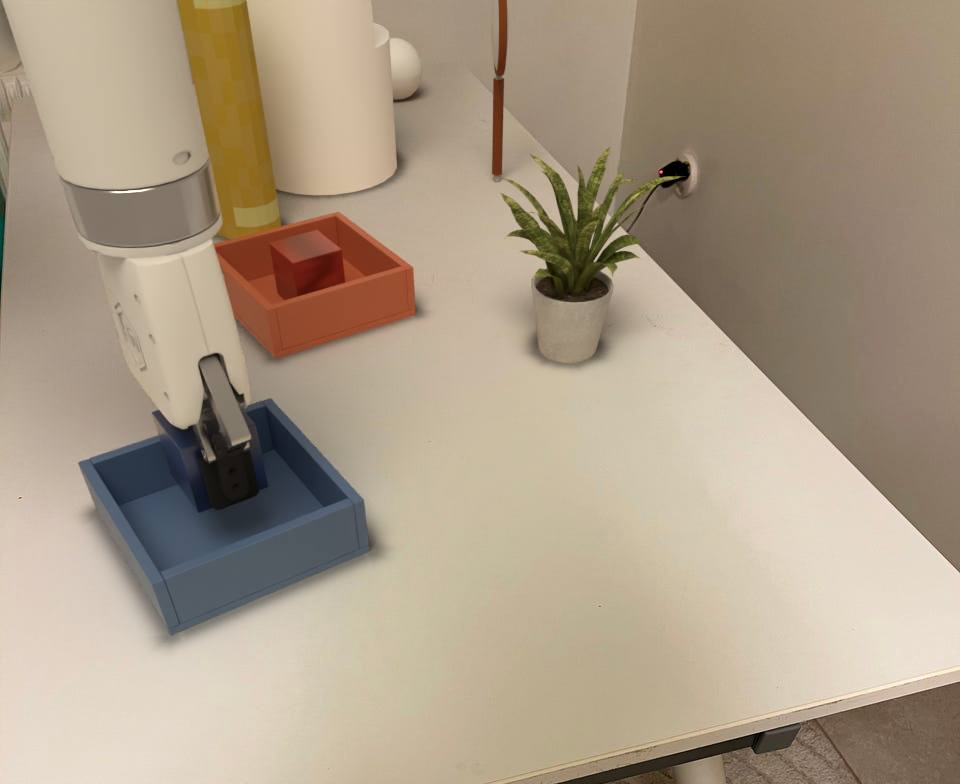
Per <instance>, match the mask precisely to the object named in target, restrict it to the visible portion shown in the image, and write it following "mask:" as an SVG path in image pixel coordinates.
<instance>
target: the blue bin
mask: <svg viewBox="0 0 960 784" xmlns="http://www.w3.org/2000/svg"><path fill="white" fill-rule="evenodd" d="M240 408H241V407H240ZM241 409H242V410H243V411H244V412H245V413H246V414H247V416H248V417H249V418H250V419H251V420H252V421H253V422H254V424H255V426H256V431H257V435H258V440H259V444H260V449H261V454H262V458H263V463H264V467H265V472H266V477H267V481H268V487H267V488H265V489H262V490H259V493H258V495H257V496H255V497H253V498H250V499H247V500H245V501H242V502H239V503H237V504H234V505H231V506H229V507H226V508H224V509H221V510H215V509H214V508H212V509H209V510H206V511H204V512H201V513H198V512H197V510H196V509H195V507H194V506H193V505H192V503H191V502H190V500H189V499H188V498H187V496H186V495H185V493H184V492H183V491H182V489H181V488H180V486H179V485H178V484H177V482H176V481H175V479H174V478H173V477H172V475H171V473H170V470H169V466H168V463H167V460H166V457H165V454H164V450H163V447H162V444H161V441H160V438H159V435H155V436H151V437H149V438H146V439H143V440H140V441H136V442H134V443H131V444H128V445H125V446H122V447H118V448H115V449H113V450H110V451H106V452H104V453H101V454H98V455H95V456H92V457H89V458H87V459H83V460H80V461H78V463H77V465H78V467H79V469H80V472H81V474H82V477H83V479H84V482H85V484H86V487H87V489H88V492H89V495H90V497H91V500H92V502H93V504H94V505H93V506H94V507H95V510H96V512H97V514H98V516H99V518H100V520H101V521H102V523H103V524H104V526H105V528H106V530H107V532H108V533H109V535H110V536H111V538H112V540H113V542H114V543H115V544H116V547H117V548H118V550H119V552H120V553H121V555H122V557H123V559H124V560H125V562H126V563H127V565H128V567H129V568H130V570H131V572H132V574H133V575H134V577H135V579H136V580H137V582H138V584H139V585H140V587H141V589H142V590H143V593H144V594H145V596H146V597H147V599H148V601H149V603H150V604H151V606H152V607H153V609H154V610H155V612H156V614H157V616H158V617H159V619H160V621H161V622H162V624H163V626H164V627H165V629H166V631H167V633H168V634H169V635H170V636H174V635H177V634H179V633H181V632H183V631H187V630H188V629H190V628H193V627H195V626H198V625H200V624H202V623H205V622H208V621H209V620H212V619H214V618H216V617H219V616H221V615H223V614H226V613H228V612H231V611H233V610H236V609H238V608H241V607H243V606H245V605H247V604H250V603H252V602H254V601H257V600H259V599H261V598H264V597H266V596H269V595H271V594H274V593H276V592H278V591H281V590H282V589H285V588H287V587H290V586H292V585H294V584H297V583H299V582H302V581H303V580H306V579H308V578H311V577H313V576H315V575H318V574H321V573H323V572H325V571H327V570H329V569H332V568H334V567H337V566H340V565H342V564H344V563H346V562H349V561H351V560H353V559H356V558H359V557H360V556H361V557H362V556H363V555H365V554H368V553H369V552H370V551H371V549H370V548H371V547H370V540H369V531H368V524H367V523H368V522H367V514H366V505H365V499H364V498H363V497H362V496H361V495H360V494H359V492H358V491H356V489H355V488H354V487H353V486H352V485H351V484H350V483H349V482H348V481H347V480H346V478H345V477H344V476H343V475H342V474H341V473H340V472H339V471H338V470H337V469H336V468H335V467H334V465H333V464H332V463H331V462H330V461H329V460H328V459H327V458H326V456H324V454H323V453H322V452H321V451H320V450H319V449H318V448H317V446H315V444H313V442H312V441H311V440H310V439H309V438H308V436H306V435H305V434H304V432H303V431H302V430H301V429H300V428H299V427H298V426H297V425H296V424H295V423H294V421H292V419H291V418H290V417H289V416H288V415H287V414H286V413H285V412H284V410H282V409H281V407H280V406H279V405H278V404H277V403H276V402H275V401H274V399H273V398H272V397H269V398H266V399H262V400H259V401H256V402H253V403H249V405H248V406H247V408H246V409H243V408H241Z"/></svg>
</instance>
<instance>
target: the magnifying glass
mask: <svg viewBox="0 0 960 784" xmlns="http://www.w3.org/2000/svg"><path fill="white" fill-rule="evenodd" d="M490 19H491V20H490V28H491V29H490V39H491V51H492V59H493V70H494V74H495V77H493V79H492V81H493V83H492V143H491V144H492V145H491V146H492V148H491V151H492V154H491V175H493V181H494V182H495V183H498V182H500V181H501V175H502V174H503V147H504V145H503V142H504V107H505V106H504V104H505V103H504V102H505V101H504V99H505V98H504V97H505V78H504V77H503V76H504V75H505V72H506V65H507V56H508V47H509V7H508V0H492V5H491V18H490Z"/></svg>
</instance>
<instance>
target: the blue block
mask: <svg viewBox="0 0 960 784" xmlns="http://www.w3.org/2000/svg"><path fill="white" fill-rule="evenodd" d="M209 405H211V404H210V402H209V400H208V399H206V400H203V403H202V408H203V407H206V406H209ZM239 408H240V410H241V412H242V415H243V417H244V419H245V422H246V424H247V426H248V429H249V431H250V434H251V441H249V445H250V452H251V457H252V461H253V465H254V470H255V474H256V479H257V483H258V487H259V490H262V489H265V488H267V487H268V481H267V477H266V472H265V467H264V463H263V458H262V454H261V449H260V444H259V440H258V435H257V431H256V426H255V424H254V422H253V421H252V420H251V419H250V418H249V417H248V416H247V414H246V413H245V412H244V411H243V410H242V409H241V407H240V406H239ZM151 415H152V418H153V421H154V426H155V428H156V431H157V434H158V435H159V438H160V441H161V444H162V447H163V450H164V454H165V457H166V460H167V463H168V466H169V470H170V473H171V475H172V477H173V478H174V479H175V481H176V482H177V484H178V485H179V486H180V488H181V489H182V491H183V492H184V493H185V495H186V496H187V498H188V499H189V500H190V502H191V503H192V505H193V506H194V507H195V509H196V510H197V512H198V513H201V512H204V511H206V510H209V509H212V508H213V506H212V505H211V503H210V500H209V496H208V493H207V489H206V486H205V482H204V479H203V475H202V471H201V468H200V464H199V461H198V457H200V456H202V452H201V449H200V446H199V444H198V441H197V438H196V435H195V432H194V429H193V426H192V425H191V426H188V428H187V429H180V428H178V427H175V426H174V425H172V424H171V423H170V422H169V421H168V420H167V419H166V418H165V416H164V415H163V414H162V413H161V411H160V410H159V409H157V410H154V411H151ZM205 426H206V428H207V431H208V434H209V437H210V440H211V438H212V435H213V434H215V433H218V432H219V430H220V426H219V423H218V420H217V419H215V420H212V421H209V422H206V423H205Z"/></svg>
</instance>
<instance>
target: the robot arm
mask: <svg viewBox="0 0 960 784" xmlns="http://www.w3.org/2000/svg"><path fill="white" fill-rule="evenodd" d="M21 69H24V74H25V76H26V79H27V82H28V85H29V88H30V91H31V94H32V98H33V101H34V103H35V106H36V107H35V108H36V109H37V113H38V116H39V119H40V122H41V126H42V128H43V132H44V135H45V138H46V140H47V141H46V142H47V144H48V147H49V150H50V152H51V155H52V159H53V163H54V165H55V168H56V170H57V171H56V172H57V174H58V177H59V180H60V183H61V186H62V189H63V192H64V195H65V198H66V202H67V204H68V208H69V210H70V214H71V216H72V220H73V223H74V226H75V228H76V232H77V235H78V238H79V241H80V243H81V244H82V245H83V247H85V248H86V249H88V250H90V251H92V252H93V253H94V252H95V256H96V260H97V264H98V269H99V272H100V275H101V279H102V284H103V287H104V290H105V294H106V298H107V301H108V305H109V309H110V313H111V316H112V319H113V324H114V328H115V331H116V335H117V337H118V338H117V339H118V341H119V345H120V349H121V353H122V356H123V358H124V361H125V363H126V365H127V368H128V370H129V371H130V373H131V374H132V376H133V377H134V378H135V380H136V381H137V383H138V384H139V385H140V387H141V388H142V389H143V391H144V392H145V393H146V394H147V396H148V397H149V398H150V400H151V401H152V402H153V404H154V405H155V407H156V408H157V410H160V411H161V413H162V414H163V415H164V416H165V418H166V419H167V420H168V421H169V422H170V423H171V424H172V425H174V426H175V427H178V428H180V429H187V428H188V426H191V425H192V426H193V429H194V432H195V435H196V438H197V441H198V444H199V446H200V449H201V452H202V456H200V457H198V461H199V464H200V468H201V471H202V475H203V479H204V482H205V486H206V489H207V493H208V496H209V500H210V503H211V505H212V506H213V508H214V509H215V510H221V509H224V508H226V507H229V506H231V505H234V504H237V503H239V502H242V501H245V500H247V499H250V498H253V497H255V496H257V495H258V493H259V487H258V483H257V479H256V474H255V470H254V465H253V461H252V457H251V452H250V445H249V441H251V434H250V431H249V429H248V426H247V424H246V422H245V419H244V417H243V415H242V412H241V410H240V408H243V409H246V408H247V406H248V405H250V404H251V403H250V402H251V399H252V393H251V386H250V385H251V384H250V379H249V374H248V369H247V363H246V359H245V355H244V351H243V346H242V342H241V338H240V333H239V329H238V326H237V322H236V318H235V317H234V314H233V310H232V306H231V303H230V299H229V295H228V292H227V288H226V285H225V281H224V275H223V274H222V271H221V267H220V264H219V260H218V257H217V254H216V250H215V247H214V240H213V237H214V236H216V235H217V232H218V231H219V230H220V228H221V226H222V223H223V219H222V215H221V210H220V205H219V200H218V195H217V190H216V186H215V181H214V176H213V171H212V166H211V162H210V157H209V154H208V149H207V144H206V139H205V135H204V130H203V125H202V120H201V115H200V110H199V105H198V100H197V96H196V91H195V86H194V81H193V77H192V72H191V67H190V62H189V58H188V53H187V48H186V43H185V38H184V33H183V28H182V24H181V19H180V14H179V9H178V4H177V0H0V74H6V73H11V72H14V71H17V70H21ZM206 399H208V400H209V402H210V404H211V405H209V406H206V407H203V408H202V403H203V400H206ZM239 406H240V408H239ZM215 419H217V420H218V423H219V426H220V430H219V432H218V433H215V434H213V435H212V438H211V440H210V437H209V434H208V431H207V428H206V426H205V423H206V422H209V421H212V420H215Z"/></svg>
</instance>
